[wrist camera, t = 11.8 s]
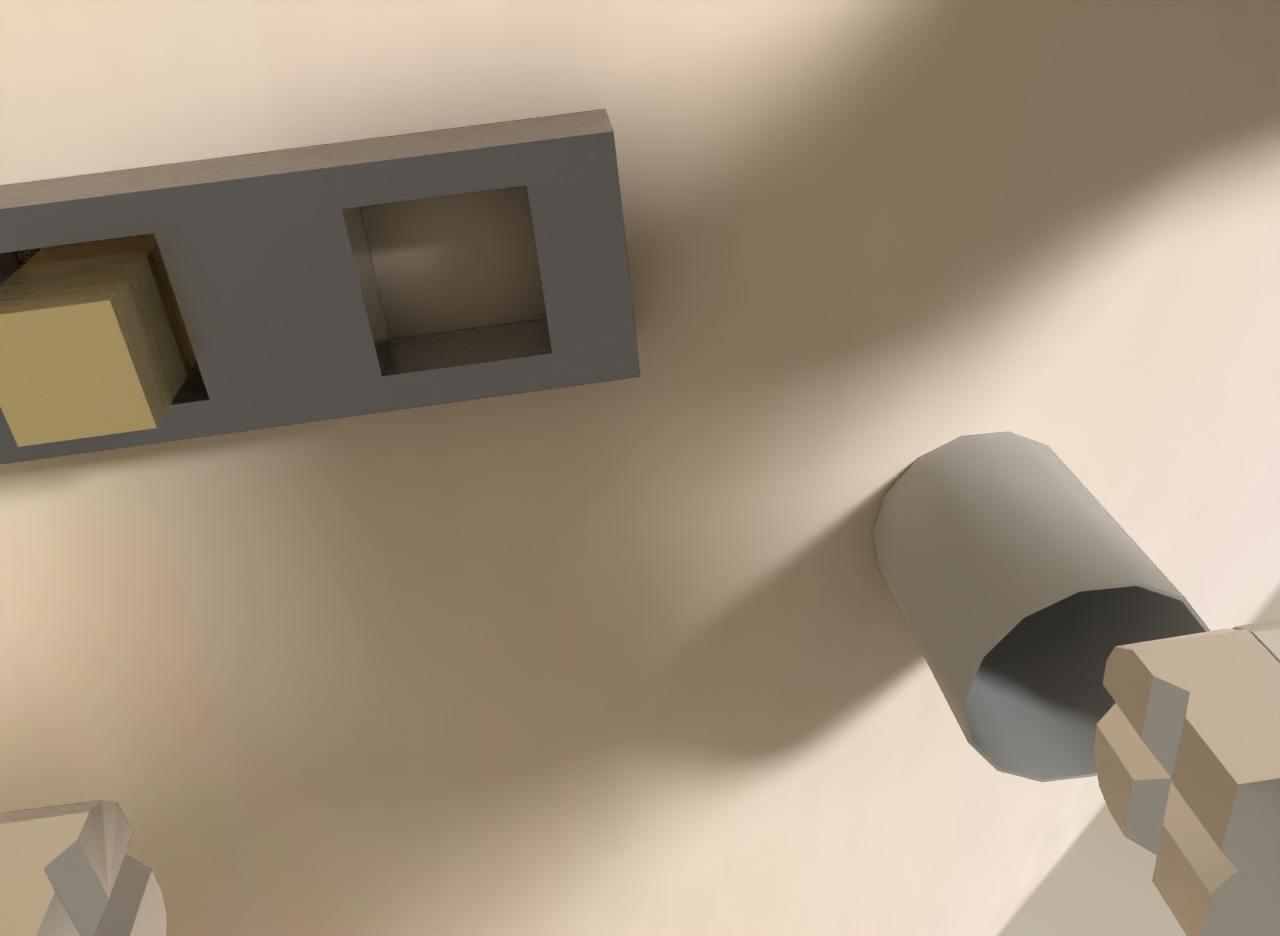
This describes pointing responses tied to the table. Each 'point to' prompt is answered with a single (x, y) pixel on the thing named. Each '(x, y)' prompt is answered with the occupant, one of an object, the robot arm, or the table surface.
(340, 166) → the rail
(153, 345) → the block
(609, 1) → the table surface
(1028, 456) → the cup
